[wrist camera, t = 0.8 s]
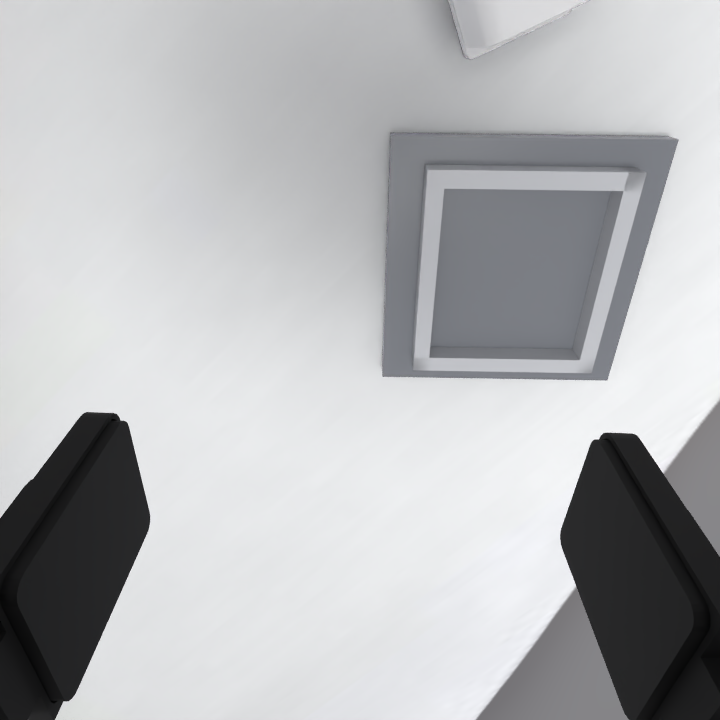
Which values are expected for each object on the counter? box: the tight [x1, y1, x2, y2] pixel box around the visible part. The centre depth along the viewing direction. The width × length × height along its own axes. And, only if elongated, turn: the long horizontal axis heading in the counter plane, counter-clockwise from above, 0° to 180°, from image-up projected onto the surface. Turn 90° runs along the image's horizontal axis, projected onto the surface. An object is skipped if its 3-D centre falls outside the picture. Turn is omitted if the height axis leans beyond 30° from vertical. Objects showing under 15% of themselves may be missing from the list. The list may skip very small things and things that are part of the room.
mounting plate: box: [382, 133, 678, 380], centre depth 34 cm, size 16×16×3 cm
